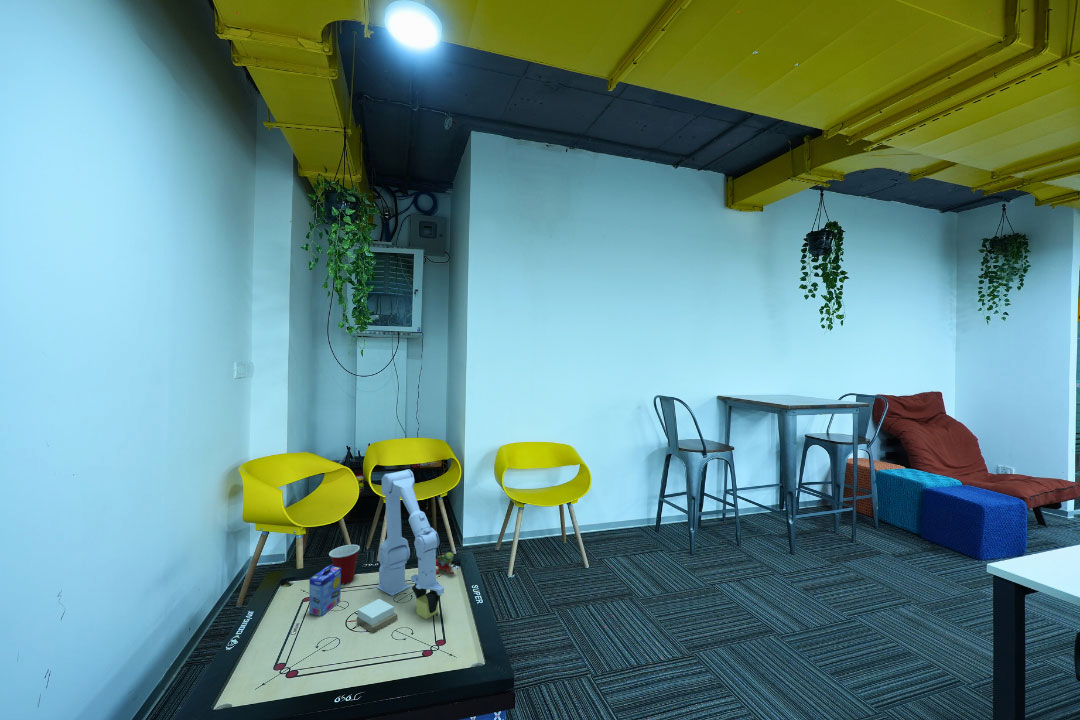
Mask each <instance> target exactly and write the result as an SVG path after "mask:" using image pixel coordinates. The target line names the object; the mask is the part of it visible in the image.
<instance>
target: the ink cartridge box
mask: <svg viewBox="0 0 1080 720" xmlns="http://www.w3.org/2000/svg"><path fill="white" fill-rule="evenodd" d="M308 580H309V588H308V590H309V591H308V592H309V593H308V596H309V598H308V600H309V601H308V603H309V604H308V605H309V606H308V607H309V610H308V613H309V614H310V615H315V616H317V617H318V616H319V617H323V616H324V615H326V614H327V613H328V612H330V610H331V609H333V608H335V606H337V605H339V603H341V589H342V588H341V585H342V584H341V568H339V567H334V566H333V563H332V564H331V565H328V566H326V567H324V568H323V569H321V570H320V571H319V572H317V573H316V574H314V575H313V576H311V577H310V578H309V579H308Z"/></svg>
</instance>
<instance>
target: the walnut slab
mask: <svg viewBox="0 0 1080 720" xmlns="http://www.w3.org/2000/svg"><path fill="white" fill-rule="evenodd" d="M398 615H399V614H397V613H396V612H394V614H393V615H392V616H390V617H388V618H386V619H384V620H382V621H381V622H379V623H377V624H375V625H373V626H372V625H370V624H368V623H367V622H365V621H363V620H362V619H360V618H359V617H358V616H357V617H356V624H358V625H359V626H361V628H363V629H365V630H366V631H368V632H370V633H371V634H375V633H377V632H379V631H380V629H381V630H382V629H384V628H386V627H387V626H390V625H391V623H392V624H394V623H395V622H397V621H398V620H399V619H398ZM396 620H397V621H396ZM378 630H379V631H378Z"/></svg>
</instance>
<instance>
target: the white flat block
mask: <svg viewBox="0 0 1080 720" xmlns="http://www.w3.org/2000/svg"><path fill="white" fill-rule="evenodd" d="M394 613H395V606H393V605H392V604H390V603H388V602H386V601H385V600H382V599H381V598H377V599H375V600H374V601H372V602H369V603H368V604H365V605H364V606H362V607H360V608H358V609H357V617H359V618H360V619H362V620H363V621H365V622H367V623H368V624H370V625H372V626H373V625H375V624H377V623H379V622H381V621H382V620H384V619H386V618H388V617H390V616H392V615H393V614H394Z"/></svg>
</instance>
